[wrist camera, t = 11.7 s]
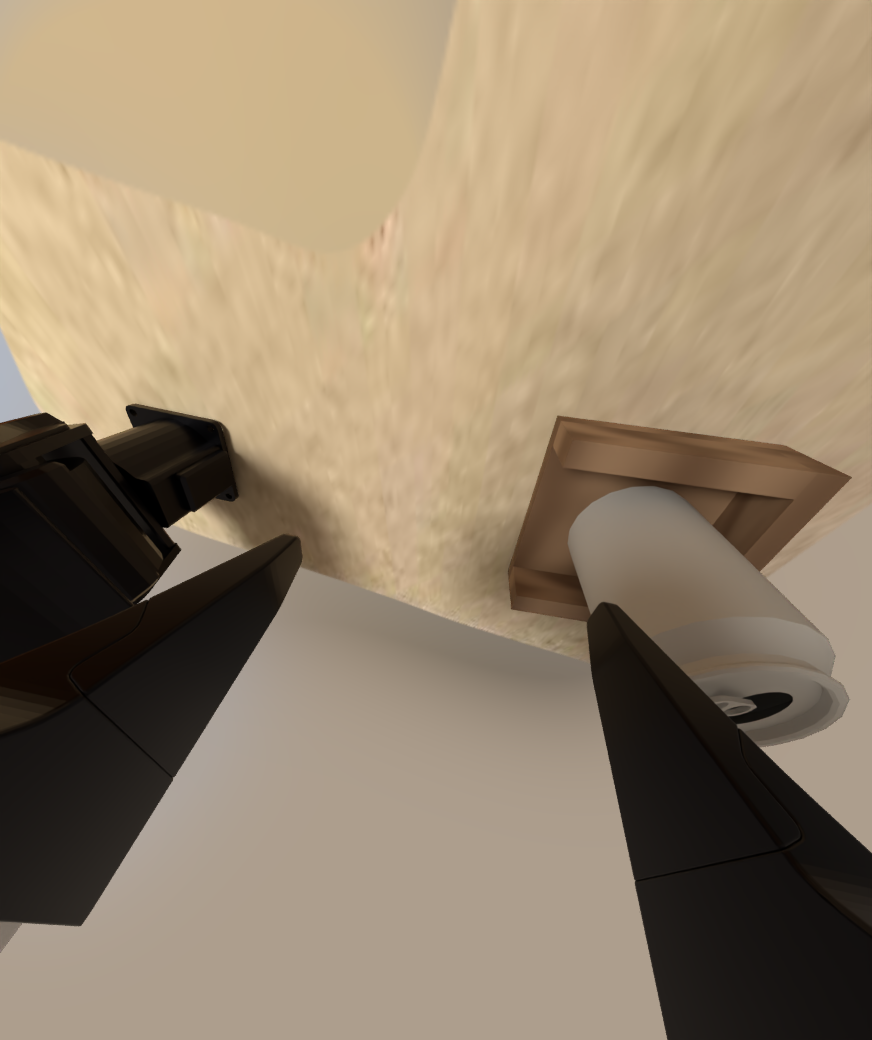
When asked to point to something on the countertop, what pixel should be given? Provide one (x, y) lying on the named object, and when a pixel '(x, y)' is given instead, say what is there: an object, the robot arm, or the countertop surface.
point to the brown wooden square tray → (669, 465)
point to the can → (708, 612)
